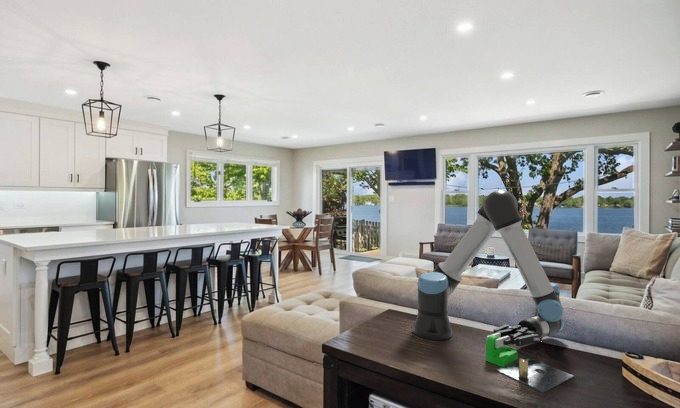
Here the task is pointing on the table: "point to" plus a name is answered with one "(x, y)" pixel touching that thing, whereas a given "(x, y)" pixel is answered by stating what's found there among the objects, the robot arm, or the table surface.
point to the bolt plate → (535, 374)
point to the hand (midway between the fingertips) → (491, 342)
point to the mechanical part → (499, 353)
